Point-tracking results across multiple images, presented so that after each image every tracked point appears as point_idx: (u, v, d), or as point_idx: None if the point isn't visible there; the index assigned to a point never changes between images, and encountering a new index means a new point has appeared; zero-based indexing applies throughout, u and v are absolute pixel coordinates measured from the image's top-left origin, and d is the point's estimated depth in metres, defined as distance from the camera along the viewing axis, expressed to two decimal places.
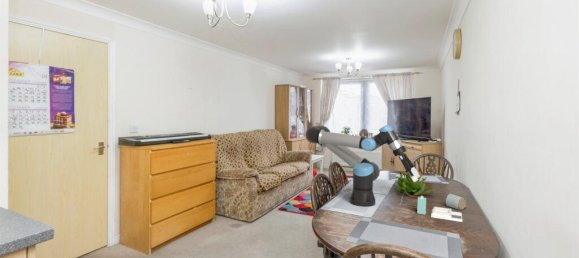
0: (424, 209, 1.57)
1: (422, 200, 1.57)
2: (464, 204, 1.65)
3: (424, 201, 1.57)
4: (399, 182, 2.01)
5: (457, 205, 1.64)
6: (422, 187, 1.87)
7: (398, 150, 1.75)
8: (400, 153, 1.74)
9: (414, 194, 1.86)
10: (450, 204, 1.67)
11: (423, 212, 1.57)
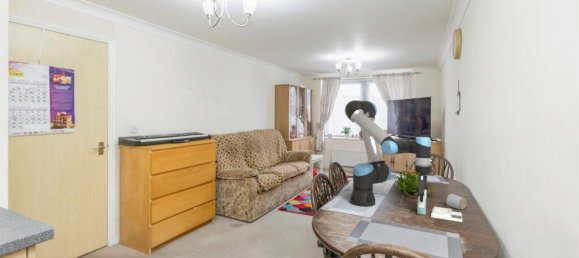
0: (424, 209, 1.57)
1: None
2: (465, 204, 1.65)
3: None
4: (399, 182, 2.01)
5: (458, 205, 1.64)
6: None
7: (423, 169, 1.55)
8: (423, 173, 1.55)
9: (414, 194, 1.86)
10: (451, 204, 1.68)
11: (423, 212, 1.57)
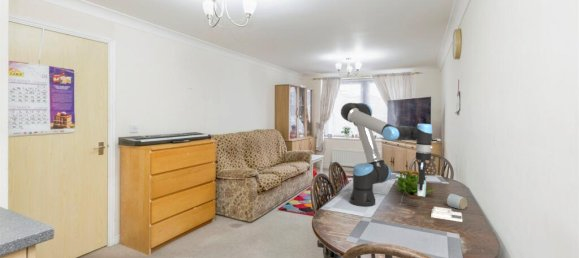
0: (424, 191, 1.57)
1: None
2: (465, 204, 1.66)
3: (424, 183, 1.57)
4: (399, 182, 2.01)
5: (458, 205, 1.64)
6: None
7: (423, 155, 1.55)
8: (423, 159, 1.55)
9: (414, 194, 1.86)
10: (451, 204, 1.68)
11: None
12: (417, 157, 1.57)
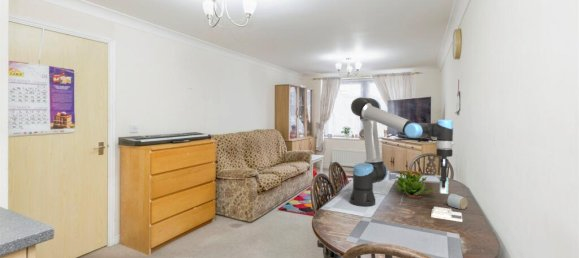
0: (447, 188, 1.53)
1: None
2: (466, 204, 1.66)
3: (447, 180, 1.53)
4: (399, 182, 2.01)
5: (459, 205, 1.64)
6: (422, 187, 1.87)
7: (445, 152, 1.51)
8: (445, 156, 1.52)
9: (414, 194, 1.86)
10: (452, 204, 1.68)
11: (446, 192, 1.53)
12: (438, 154, 1.54)
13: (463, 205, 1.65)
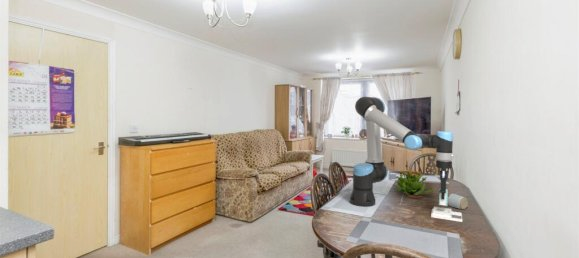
0: (446, 200, 1.53)
1: None
2: (466, 204, 1.66)
3: (446, 192, 1.53)
4: (399, 182, 2.01)
5: (459, 205, 1.64)
6: (422, 187, 1.87)
7: (444, 164, 1.52)
8: (444, 168, 1.52)
9: (414, 194, 1.86)
10: (452, 204, 1.68)
11: None
12: (438, 165, 1.54)
13: (463, 205, 1.65)
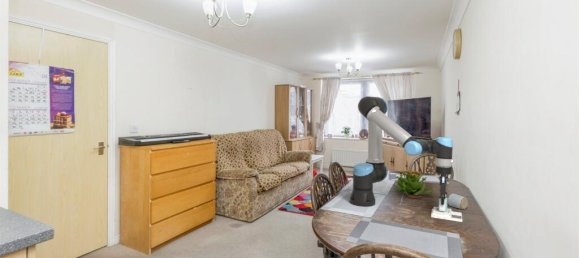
0: (446, 209, 1.54)
1: None
2: (466, 204, 1.66)
3: (446, 201, 1.54)
4: (399, 182, 2.01)
5: (459, 205, 1.65)
6: (422, 187, 1.87)
7: (444, 170, 1.52)
8: (444, 174, 1.52)
9: (414, 194, 1.86)
10: (452, 204, 1.68)
11: None
12: (438, 171, 1.54)
13: (464, 205, 1.65)
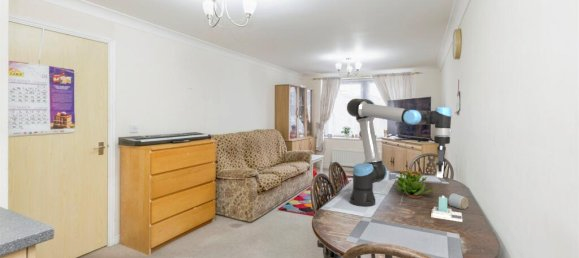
0: (446, 209, 1.54)
1: (443, 200, 1.54)
2: (467, 203, 1.66)
3: (446, 201, 1.54)
4: (399, 182, 2.01)
5: (460, 204, 1.65)
6: (422, 187, 1.87)
7: (442, 139, 1.53)
8: (442, 143, 1.53)
9: (414, 194, 1.86)
10: (453, 203, 1.68)
11: None
12: (436, 141, 1.55)
13: (464, 205, 1.65)
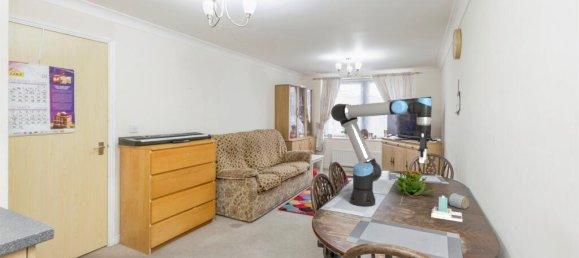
0: (446, 209, 1.54)
1: (443, 200, 1.54)
2: (467, 203, 1.67)
3: (446, 201, 1.54)
4: (399, 182, 2.01)
5: (460, 204, 1.65)
6: (422, 187, 1.87)
7: (423, 127, 1.65)
8: (423, 131, 1.65)
9: (414, 194, 1.86)
10: (453, 203, 1.69)
11: None
12: (418, 129, 1.67)
13: (465, 205, 1.66)
